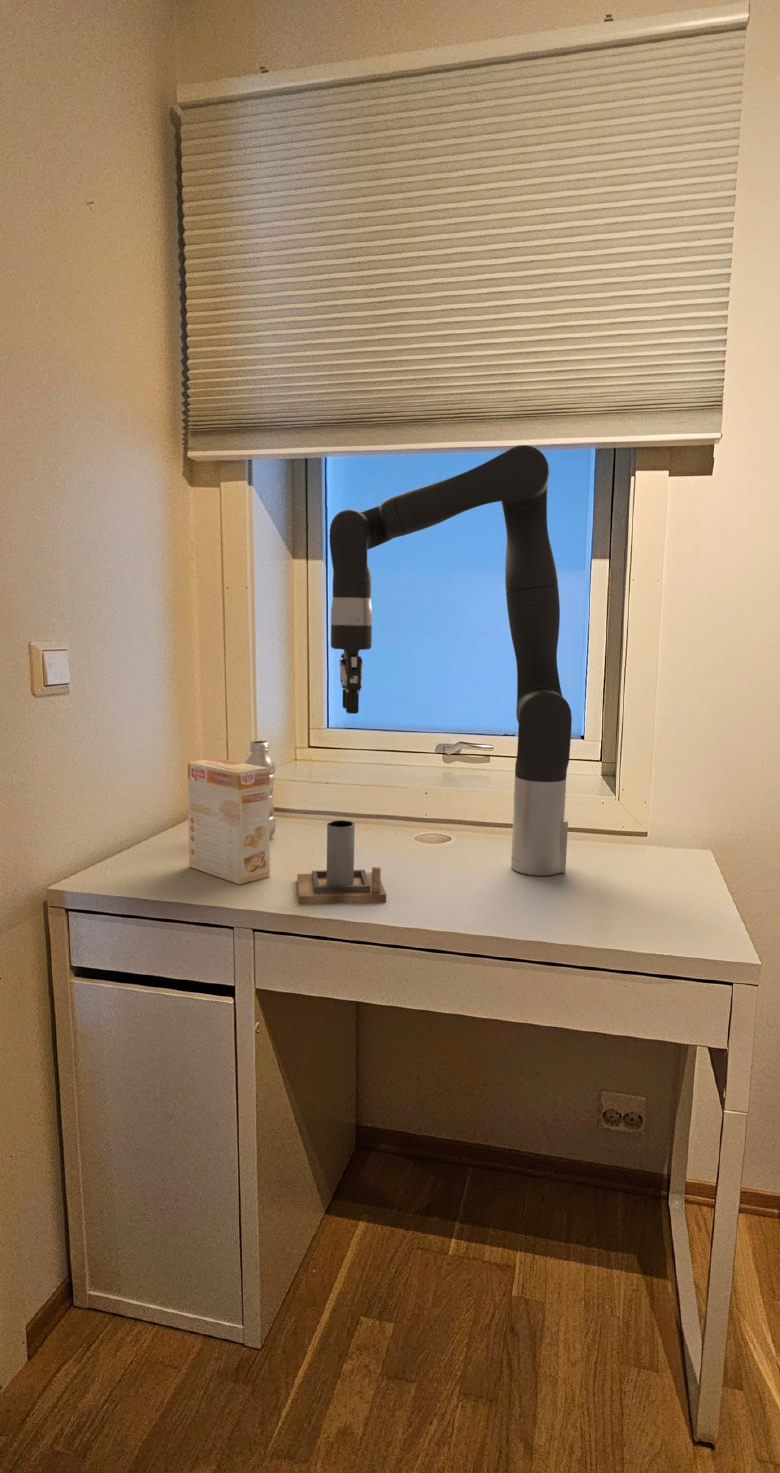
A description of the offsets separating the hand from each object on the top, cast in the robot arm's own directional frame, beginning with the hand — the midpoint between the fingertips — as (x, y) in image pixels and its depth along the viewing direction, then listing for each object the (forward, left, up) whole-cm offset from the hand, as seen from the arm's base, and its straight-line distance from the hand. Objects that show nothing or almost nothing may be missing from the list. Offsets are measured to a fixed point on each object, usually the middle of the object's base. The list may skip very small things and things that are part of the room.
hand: (350, 710), depth 158 cm
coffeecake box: (+22, +8, -28) cm, 37 cm away
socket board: (+3, +20, -28) cm, 35 cm away
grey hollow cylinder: (+3, +20, -27) cm, 34 cm away
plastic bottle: (+17, -15, -28) cm, 36 cm away
